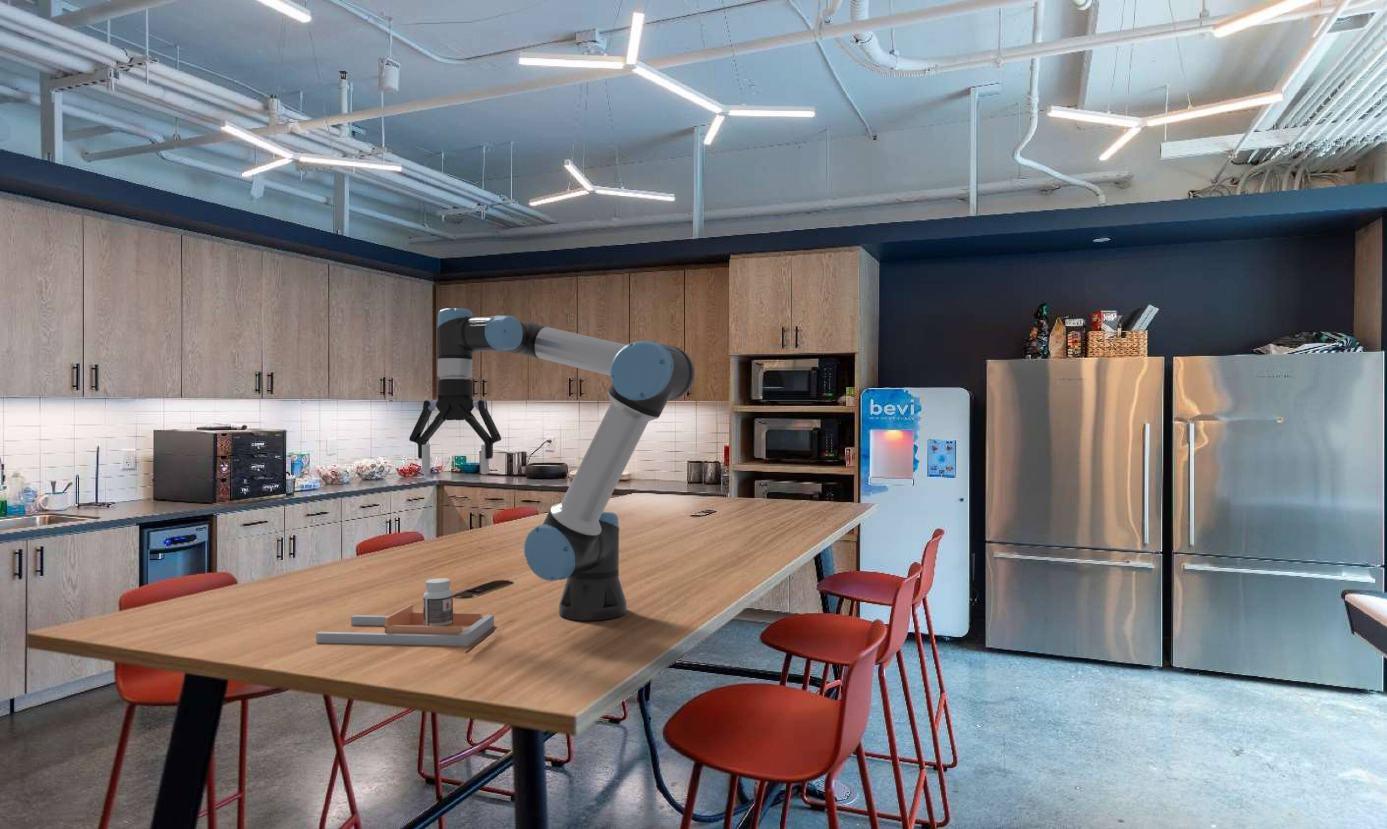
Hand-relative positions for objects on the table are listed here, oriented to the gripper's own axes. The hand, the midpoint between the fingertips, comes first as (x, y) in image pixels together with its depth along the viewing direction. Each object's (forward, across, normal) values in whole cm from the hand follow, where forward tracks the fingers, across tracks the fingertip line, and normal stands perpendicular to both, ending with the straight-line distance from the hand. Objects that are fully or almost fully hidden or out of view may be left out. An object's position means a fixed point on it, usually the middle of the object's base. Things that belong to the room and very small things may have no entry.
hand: (455, 473), depth 182 cm
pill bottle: (+30, -4, +20) cm, 36 cm away
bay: (+32, +2, +20) cm, 38 cm away
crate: (+30, -4, +20) cm, 37 cm away
